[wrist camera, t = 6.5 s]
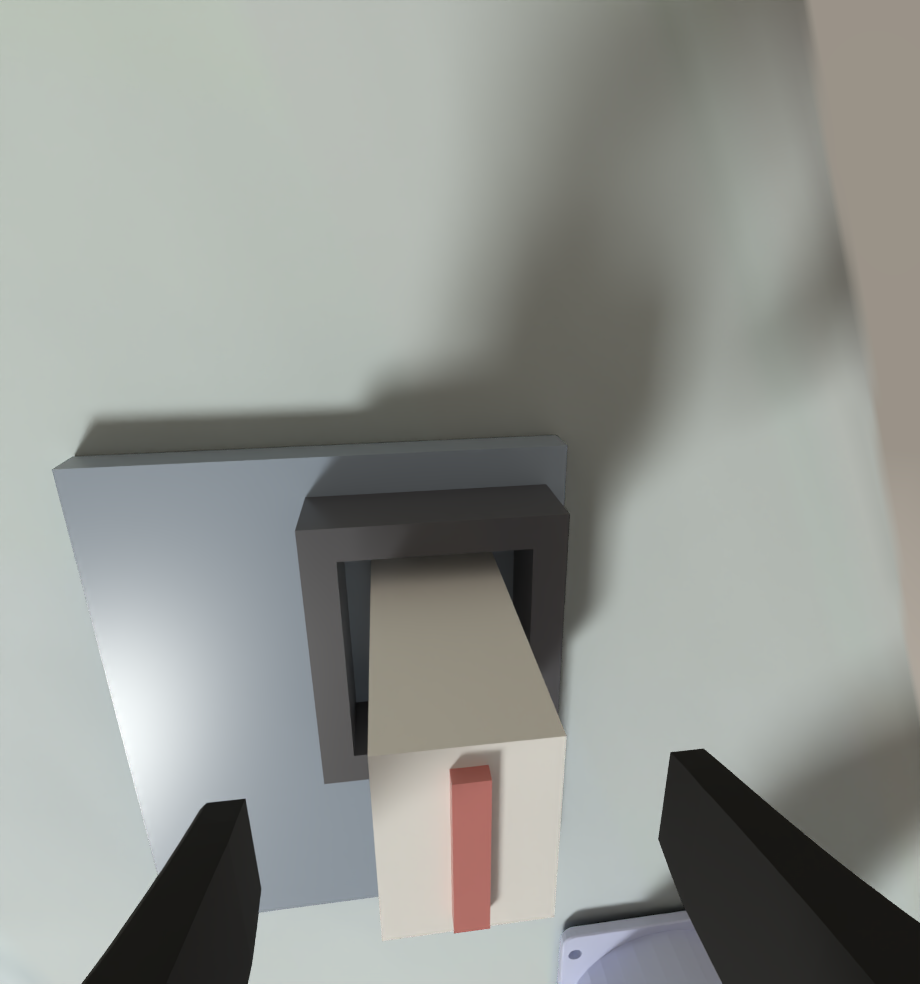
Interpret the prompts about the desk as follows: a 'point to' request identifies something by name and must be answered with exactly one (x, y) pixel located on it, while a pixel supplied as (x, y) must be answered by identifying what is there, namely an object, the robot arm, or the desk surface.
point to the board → (248, 632)
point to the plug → (459, 751)
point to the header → (414, 533)
